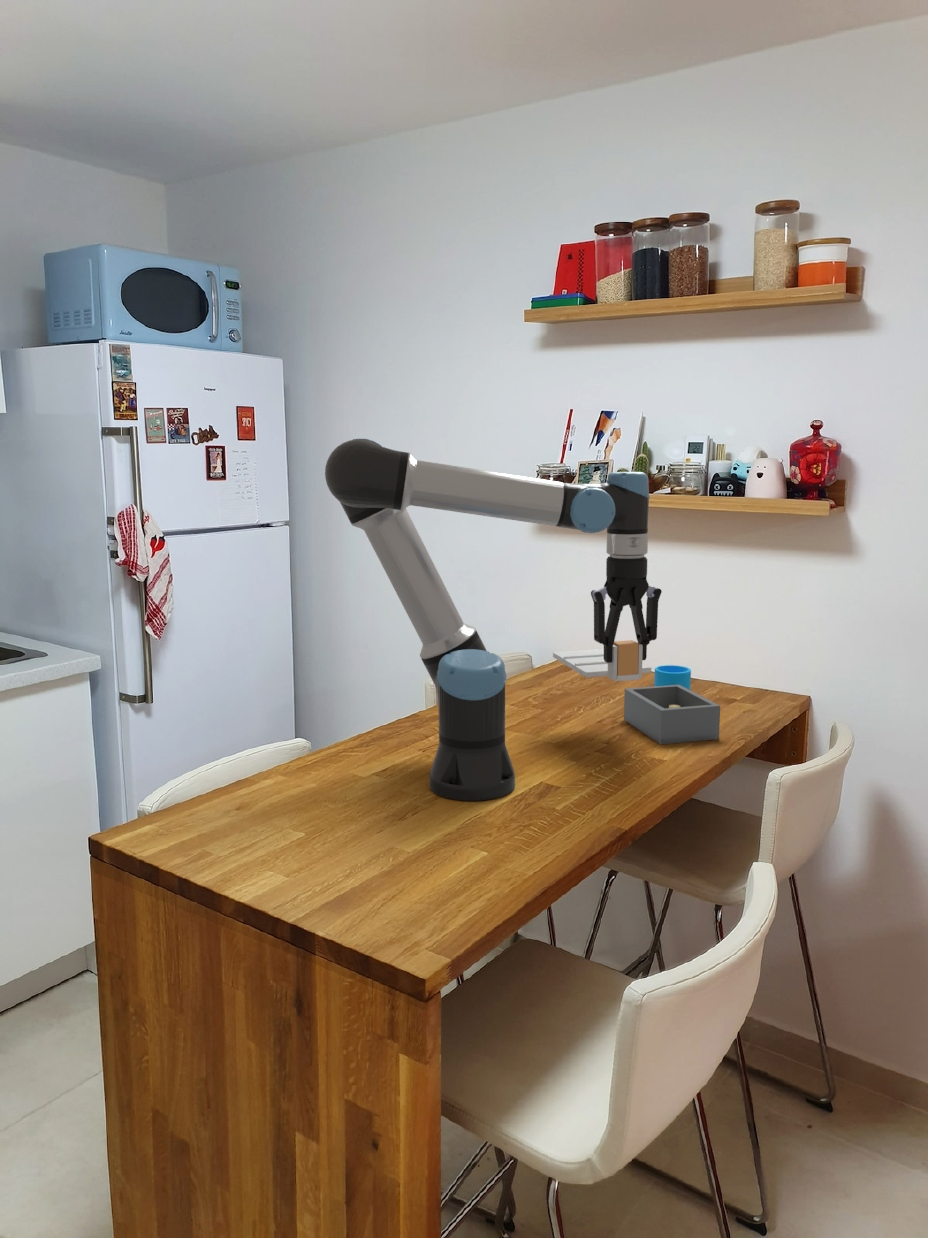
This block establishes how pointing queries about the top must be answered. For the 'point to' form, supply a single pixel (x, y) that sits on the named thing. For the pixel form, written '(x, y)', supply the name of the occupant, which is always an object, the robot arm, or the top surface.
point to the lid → (595, 666)
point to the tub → (671, 714)
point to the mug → (672, 676)
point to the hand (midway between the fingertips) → (624, 677)
